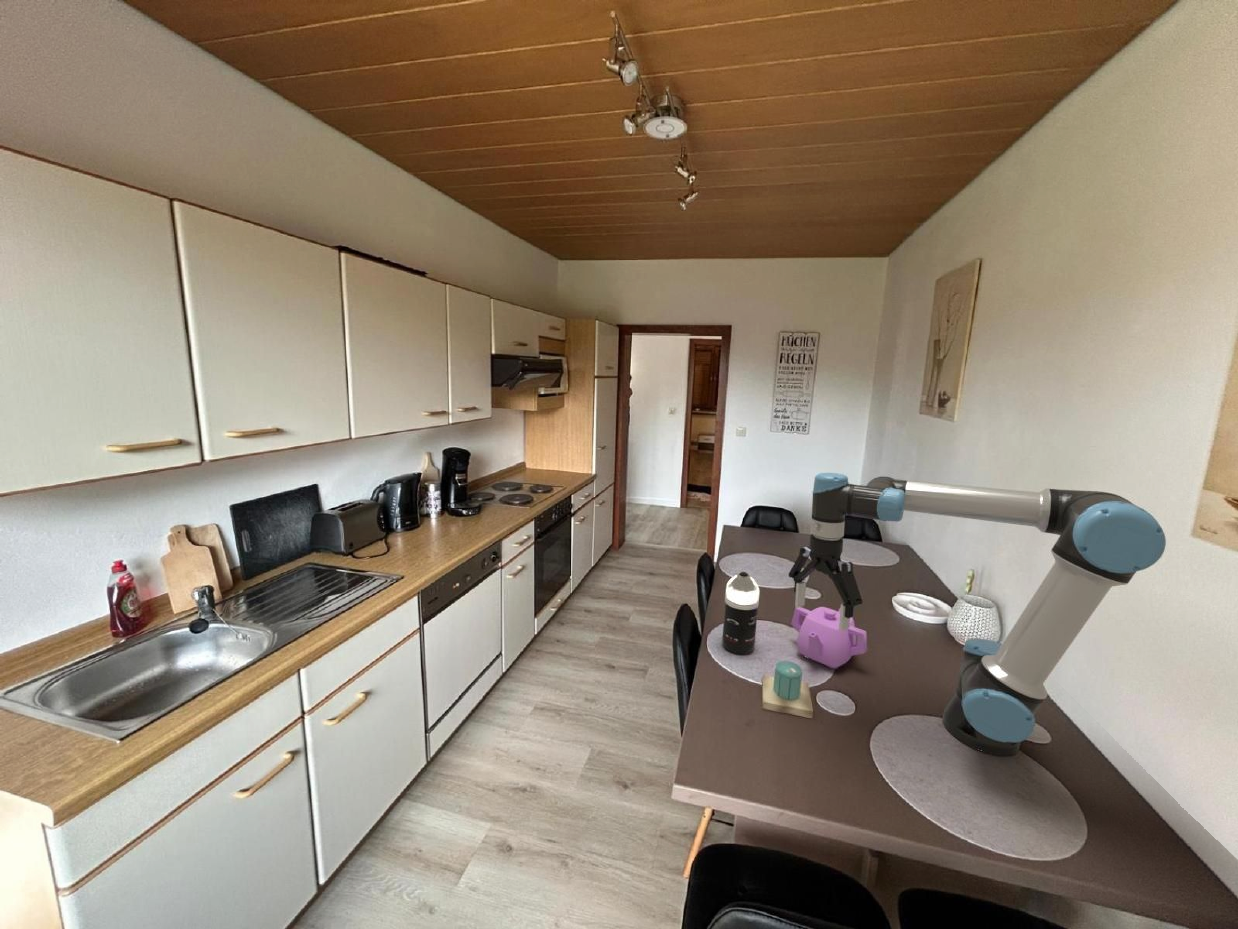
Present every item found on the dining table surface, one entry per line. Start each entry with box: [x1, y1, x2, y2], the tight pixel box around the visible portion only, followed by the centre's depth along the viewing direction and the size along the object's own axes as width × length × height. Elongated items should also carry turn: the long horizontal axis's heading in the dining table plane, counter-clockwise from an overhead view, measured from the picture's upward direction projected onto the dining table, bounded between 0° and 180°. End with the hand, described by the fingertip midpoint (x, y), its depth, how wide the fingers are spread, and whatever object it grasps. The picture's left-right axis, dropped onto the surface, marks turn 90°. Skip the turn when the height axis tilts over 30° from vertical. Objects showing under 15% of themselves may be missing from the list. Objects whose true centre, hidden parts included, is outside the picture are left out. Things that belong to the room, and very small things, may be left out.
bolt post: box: [761, 674, 814, 719], centre depth 128 cm, size 12×12×8 cm
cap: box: [773, 660, 803, 700], centre depth 128 cm, size 6×6×8 cm
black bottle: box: [721, 571, 760, 655], centre depth 151 cm, size 10×10×25 cm
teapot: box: [790, 606, 868, 670], centre depth 148 cm, size 19×18×15 cm
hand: (820, 617), depth 123 cm, fingers open, 13 cm apart
